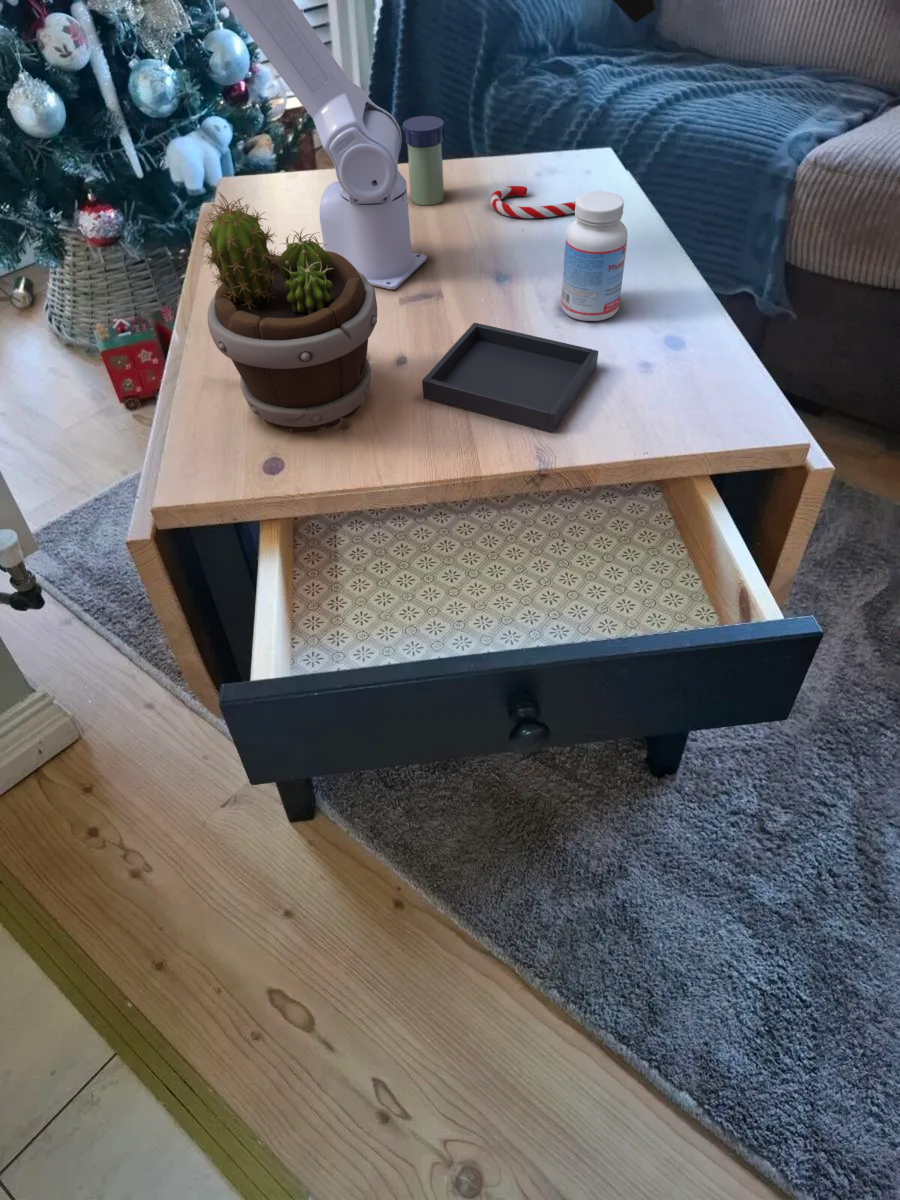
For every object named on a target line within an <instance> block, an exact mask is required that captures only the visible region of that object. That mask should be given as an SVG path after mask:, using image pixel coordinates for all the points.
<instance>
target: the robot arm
mask: <svg viewBox="0 0 900 1200" xmlns="http://www.w3.org/2000/svg"><path fill="white" fill-rule="evenodd" d="M612 1H613V2H614V3H615V4H616V6H617V7H618V8H619V9H620V10H621V11H622V12H623V13H624V14H625V16H627V17H628V19H630V21H631V22H632V23H634V24H636V23H638V22H639V21H641V20H642V19H644V18H646V16H647V17H648V15H650V14H652V13H653V12H654V11H655V9H656V1H655V0H612ZM223 2H224V3H225V4H226V6H227V7H228V8H229V10H230V11H231V13H232V14H233V15H234V17H235V18H236V19H237V20H238V22H239V23H240V24H241V26H242V27H243V28H244V30H245V31H246V33H247V34H248V35H249V36H250V38H251V39H252V40H253V41H254V43H255V45H256V46H257V47H258V48H259V50H260V51H261V52H262V53H263V55H264V56H265V58H266V59H267V60H268V62H269V63H270V64H271V65H272V67H273V68H274V70H275V71H276V73H278V75H279V76H280V78H281V79H282V80H283V82H284V83H285V84H286V85H287V87H288V88H289V90H290V91H291V92H292V94H293V95H294V96H295V97H296V99H297V100H298V101H299V103H300V104H301V106H302V107H303V108H304V109H305V111H306V112H307V113H308V114H309V116H310V117H311V119H312V121H313V123H314V126H315V129H316V131H317V134H318V137H319V140H320V144H321V146H322V149H323V150H324V151H325V152H326V154H327V155H328V157H329V158H330V159H331V161H332V163H333V166H334V170H335V175H336V178H337V181H333V182H331V183H329V185H327V187H326V188H325V189H324V191H323V193H322V196H321V198H320V202H319V203H320V204H319V223H320V224H319V225H320V230H321V237H322V243H323V244H322V245H323V246H324V247H323V249H324V250H325V251H330V252H334V253H337V254H339V255H341V256H343V257H344V258H345V259H347V260H348V261H349V262H350V263H351V264H352V265H353V266H354V267H355V268H356V270H357V271H358V272H359V273H361V274H363V275H364V276H365V278H366V279H367V280H368V282H369V283H370V284H371V286H373V287H379V288H383V289H388V290H395V289H397V288H398V287H400V286H401V284H403V283H404V282H405V281H406V280H407V279H408V278H409V277H411V276H412V274H413V273H414V272H415V271H417V269H419V268H420V267H421V266H422V265H423V264H424V263H425V262H426V261H427V260H428V259H427V255H426V254H421V253H417V252H412V240H411V229H410V227H411V226H410V213H409V202H408V201H409V200H408V186H407V181H406V180H407V179H405V177H404V175H402V173H401V172H400V171H399V166H398V165H399V158H400V157H399V156H400V152H401V149H402V143H403V136H402V131H401V128H400V126H399V124H398V123H399V122H398V121H397V120H396V119H395V117H394V116H393V115H392V114H391V113H390V112H388V111H387V110H386V109H384V108H383V107H382V108H381V106H378V105H377V104H376V103H374V102H373V101H372V99H371V98H370V97H369V95H368V94H367V93H366V91H365V90H364V89H363V88H361V87H360V86H358V85H357V84H356V83H354V82H352V81H351V80H350V79H349V78H348V76H347V74H346V73H345V72H344V70H343V69H342V68H341V66H340V65H339V63H338V62H337V61H336V59H335V58H334V56H333V55H332V53H331V52H330V50H329V49H328V48H327V46H326V45H325V44H324V42H323V40H322V39H321V38H320V36H319V35H318V33H317V32H316V31H315V29H314V28H313V26H312V25H311V23H310V22H309V20H308V19H307V18H306V16H305V15H304V13H303V12H302V10H301V9H300V8H299V6H298V4H297V3H296V2H295V0H223ZM326 244H327V245H326Z"/></svg>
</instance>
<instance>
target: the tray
mask: <svg viewBox="0 0 900 1200" xmlns="http://www.w3.org/2000/svg"><path fill="white" fill-rule="evenodd" d="M598 358H599V350H597V349H592V348H589V347H583V346H580V345H576V344H571V343H566V342H562V341H557V340H553V339H549V338H545V337H540V336H536V335H532V334H527V333H524V332H519V331H514V330H510V329H505V328H501V327H496V326H493V325H489V324H483V323H478V322H473V323H472V324H471V325H470V326H469V328H468V329H467V330H465V332H464V333H463V334H462V335H461V336H460V337H459V338H458V339H457V340H456V342H455V343H454V344H453V345H452V347H450V348H449V350H448V351H447V352H446V353H445V354H443V356H442V357H441V358H440V360H439V361H438V362H436V364H435V365H434V366H433V368H432V369H431V370H430V371H429V372H428V373H427V374H426V375H425V377H423V378H422V380H421V385H422V387H421V388H422V398H423V399H425V400H429V401H432V402H436V403H440V404H443V405H446V406H451V407H455V408H457V409H458V408H459V409H462V410H466V411H469V412H474V413H477V414H481V415H485V416H489V417H492V418H496V419H499V420H503V421H506V422H511V423H515V424H518V425H522V426H526V427H530V428H533V429H537V430H541V431H544V432H549V433H554V432H555V431H556V430H557V428H558V426H559V425H560V424H561V422H562V420H563V419H565V416H566V415H567V413H568V412H569V410H570V409H571V407H572V406H573V405H574V403H575V401H576V400H577V398H578V397H579V395H580V394H581V392H582V391H583V390H584V389H585V387H586V385H587V383H588V382H589V381H590V379H591V378H592V376H593V375H594V373H595V372H596V370H597V368H598Z"/></svg>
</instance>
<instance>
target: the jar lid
mask: <svg viewBox="0 0 900 1200" xmlns="http://www.w3.org/2000/svg"><path fill="white" fill-rule="evenodd" d="M402 133H403V142H404V143H405V144H406V145H407V144H409V145H411V146H417V147H427V146H433V145H436V144H439V143H441V142H442V143H443V141H445V139H446V137H445V136H446V135H445V122H444V120H443V119H442V118H440V117H437V116H433V115H419V116H414V117H410V118H408V119H406V120H404V121H403V123H402Z"/></svg>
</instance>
